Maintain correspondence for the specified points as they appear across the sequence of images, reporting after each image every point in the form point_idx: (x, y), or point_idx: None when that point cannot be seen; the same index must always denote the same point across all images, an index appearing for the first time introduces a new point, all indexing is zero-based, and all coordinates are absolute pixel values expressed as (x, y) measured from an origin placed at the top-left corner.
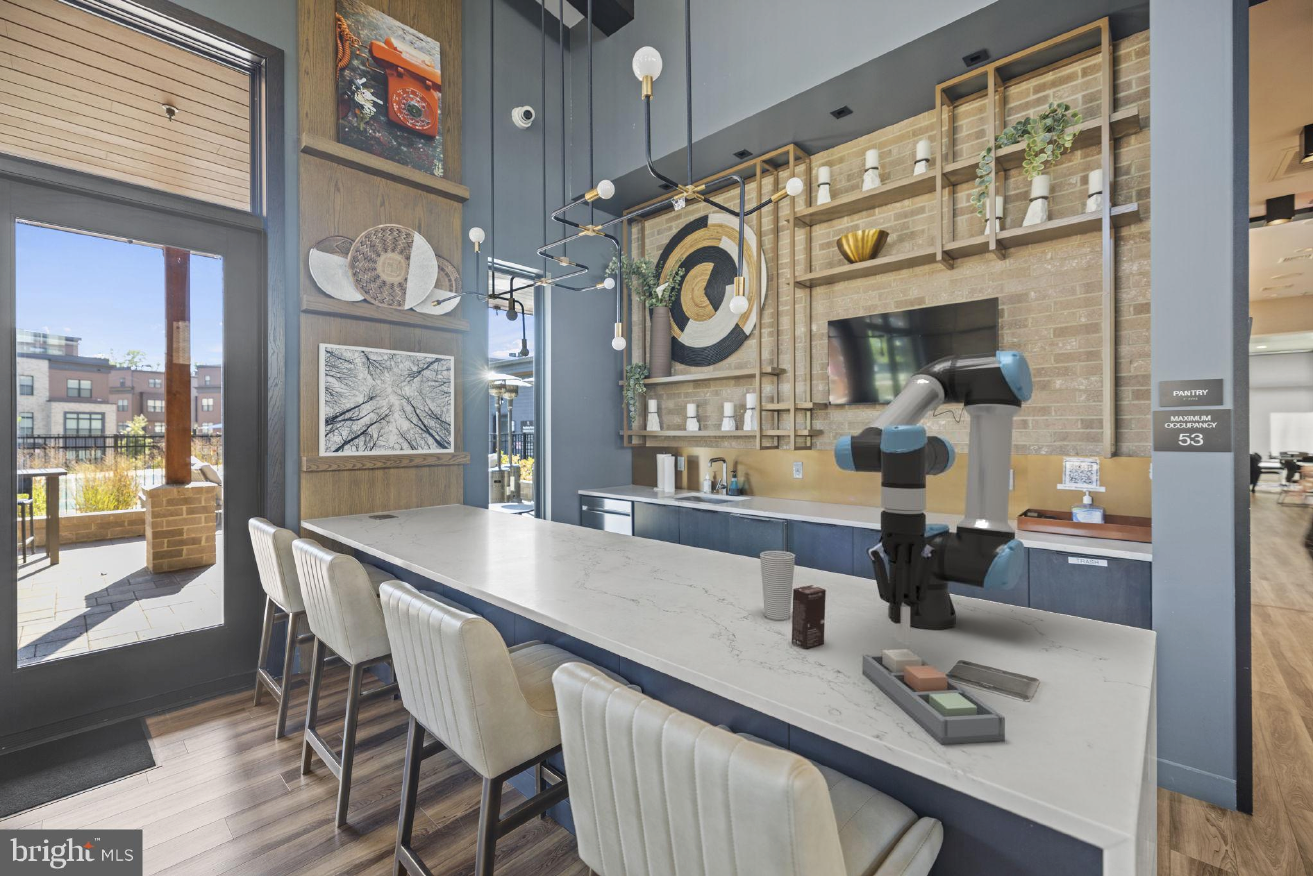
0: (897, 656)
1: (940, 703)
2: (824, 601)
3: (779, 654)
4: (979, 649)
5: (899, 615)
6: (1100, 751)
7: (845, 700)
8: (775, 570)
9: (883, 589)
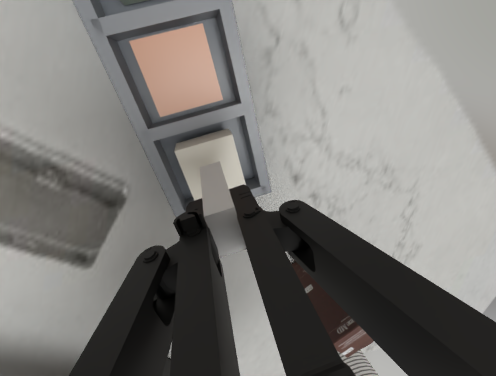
0: (223, 157)
1: None
2: (322, 321)
3: (358, 217)
4: (50, 313)
5: (235, 199)
6: None
7: (317, 66)
8: None
9: (341, 228)
